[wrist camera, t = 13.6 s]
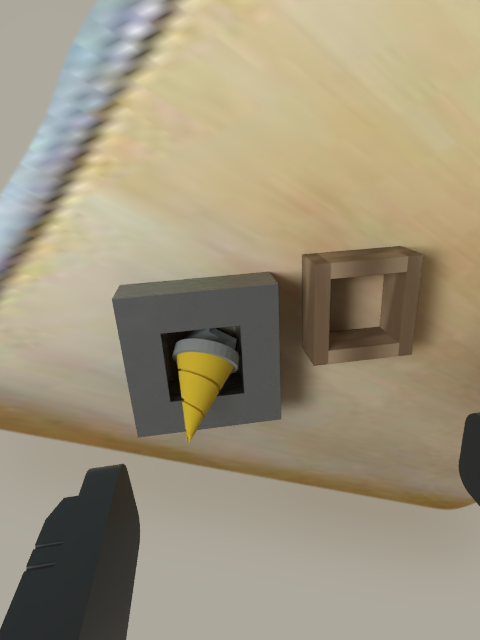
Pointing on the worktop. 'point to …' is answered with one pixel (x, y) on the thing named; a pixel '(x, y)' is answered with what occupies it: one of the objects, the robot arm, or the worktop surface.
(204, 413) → the drill bit
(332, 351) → the wooden square frame
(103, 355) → the worktop surface
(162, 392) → the hub plate
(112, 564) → the robot arm
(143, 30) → the worktop surface
